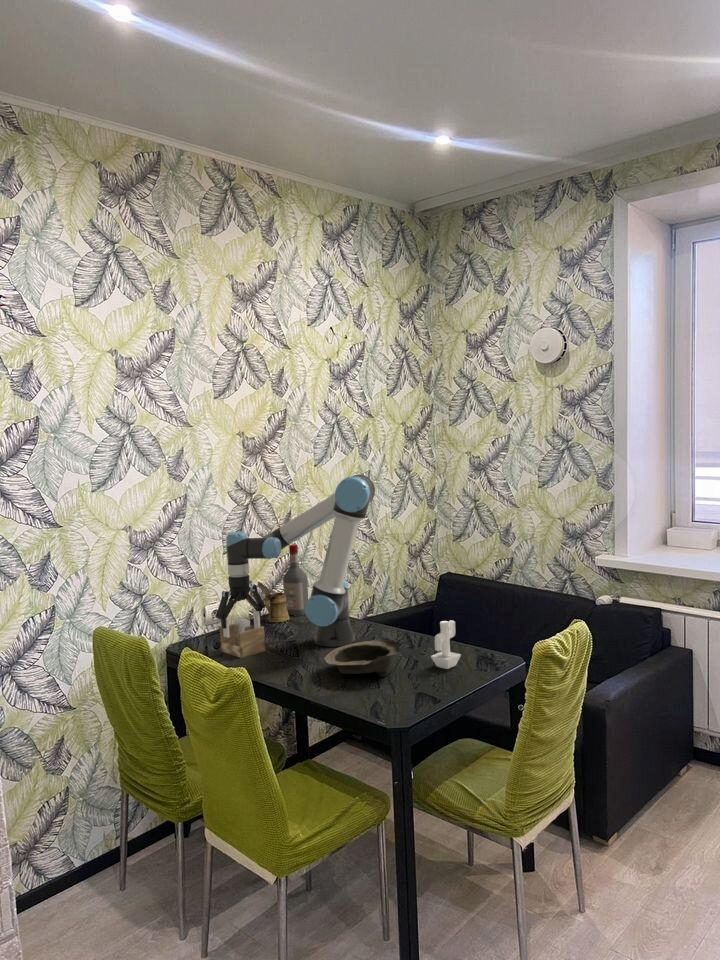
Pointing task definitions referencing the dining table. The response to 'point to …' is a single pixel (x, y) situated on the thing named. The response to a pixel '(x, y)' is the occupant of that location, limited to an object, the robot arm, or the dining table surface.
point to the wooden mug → (275, 605)
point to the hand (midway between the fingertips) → (242, 632)
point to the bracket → (240, 628)
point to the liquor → (295, 585)
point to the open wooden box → (243, 642)
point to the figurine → (445, 646)
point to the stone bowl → (365, 657)
